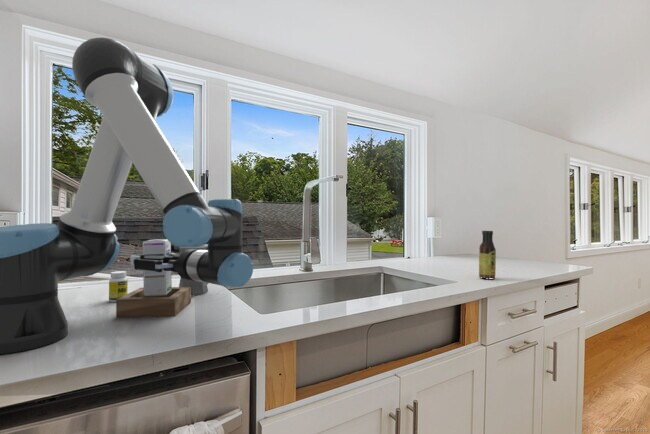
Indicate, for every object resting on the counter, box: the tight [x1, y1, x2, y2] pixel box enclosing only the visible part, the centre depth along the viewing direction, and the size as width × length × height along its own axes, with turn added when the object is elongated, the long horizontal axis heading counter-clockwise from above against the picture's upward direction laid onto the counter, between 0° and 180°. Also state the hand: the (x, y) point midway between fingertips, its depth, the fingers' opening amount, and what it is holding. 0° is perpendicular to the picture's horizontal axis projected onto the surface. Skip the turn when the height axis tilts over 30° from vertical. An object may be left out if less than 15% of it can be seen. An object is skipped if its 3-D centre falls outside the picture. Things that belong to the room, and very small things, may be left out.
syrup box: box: [142, 238, 173, 296], centre depth 94 cm, size 6×6×14 cm
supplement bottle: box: [108, 270, 129, 303], centre depth 103 cm, size 5×5×8 cm
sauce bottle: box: [478, 230, 497, 279], centre depth 144 cm, size 7×6×20 cm
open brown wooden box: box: [115, 286, 192, 319], centre depth 94 cm, size 14×14×4 cm
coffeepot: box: [171, 244, 209, 296], centre depth 114 cm, size 15×9×18 cm, turn 108°
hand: (148, 258), depth 96 cm, fingers closed on syrup box, 8 cm apart
